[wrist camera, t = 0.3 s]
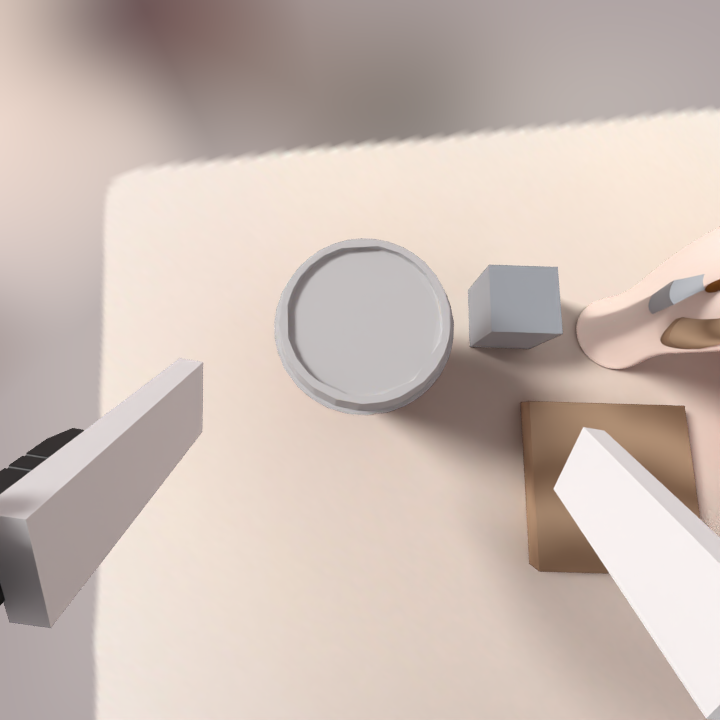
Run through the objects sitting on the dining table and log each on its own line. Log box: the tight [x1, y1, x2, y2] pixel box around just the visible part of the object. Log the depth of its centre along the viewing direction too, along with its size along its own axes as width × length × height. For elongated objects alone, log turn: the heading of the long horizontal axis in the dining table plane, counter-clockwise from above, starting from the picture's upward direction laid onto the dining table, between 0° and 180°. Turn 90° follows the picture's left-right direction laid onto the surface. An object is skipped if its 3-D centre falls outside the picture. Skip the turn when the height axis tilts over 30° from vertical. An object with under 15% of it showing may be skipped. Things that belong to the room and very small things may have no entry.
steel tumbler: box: [576, 226, 720, 369], centre depth 23 cm, size 7×7×15 cm
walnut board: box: [521, 401, 700, 573], centre depth 27 cm, size 12×12×2 cm
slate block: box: [468, 265, 563, 349], centre depth 28 cm, size 5×5×5 cm
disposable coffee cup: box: [274, 238, 454, 415], centre depth 24 cm, size 10×10×12 cm
